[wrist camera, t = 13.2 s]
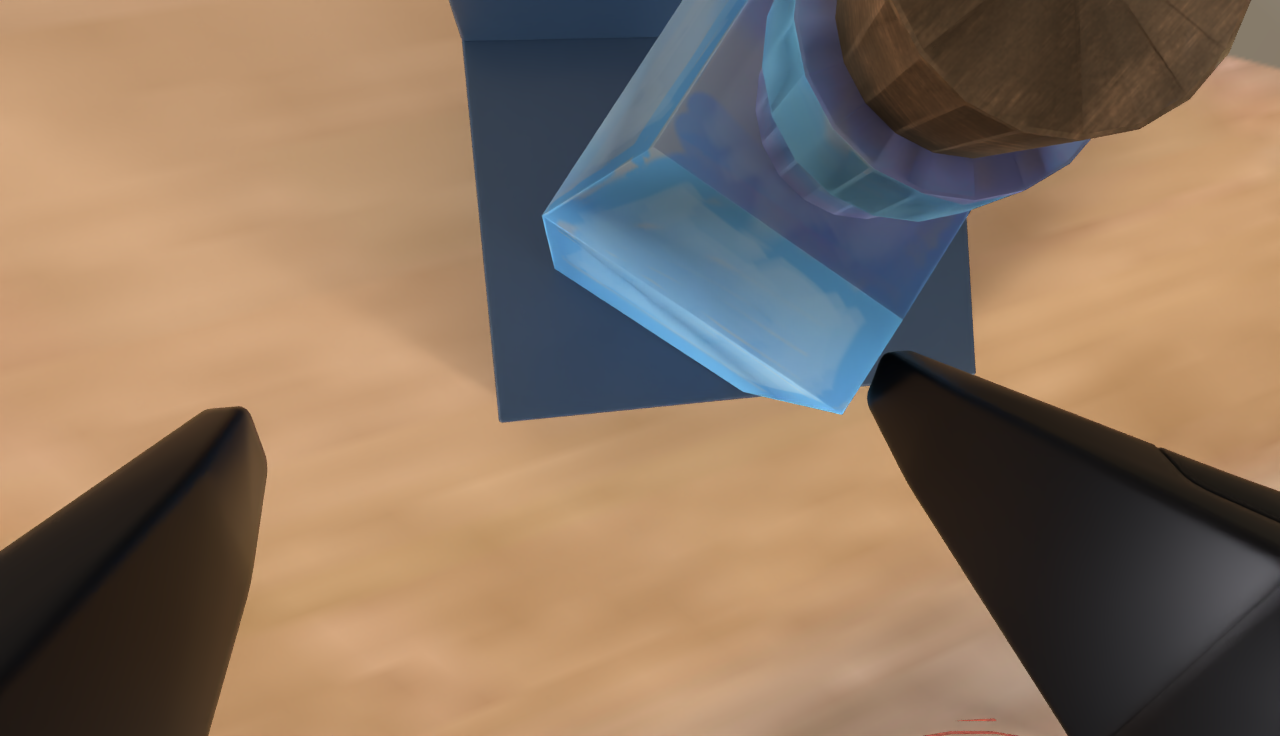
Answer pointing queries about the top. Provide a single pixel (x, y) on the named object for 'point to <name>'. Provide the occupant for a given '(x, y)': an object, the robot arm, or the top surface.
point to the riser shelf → (532, 175)
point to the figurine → (939, 735)
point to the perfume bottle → (845, 161)
